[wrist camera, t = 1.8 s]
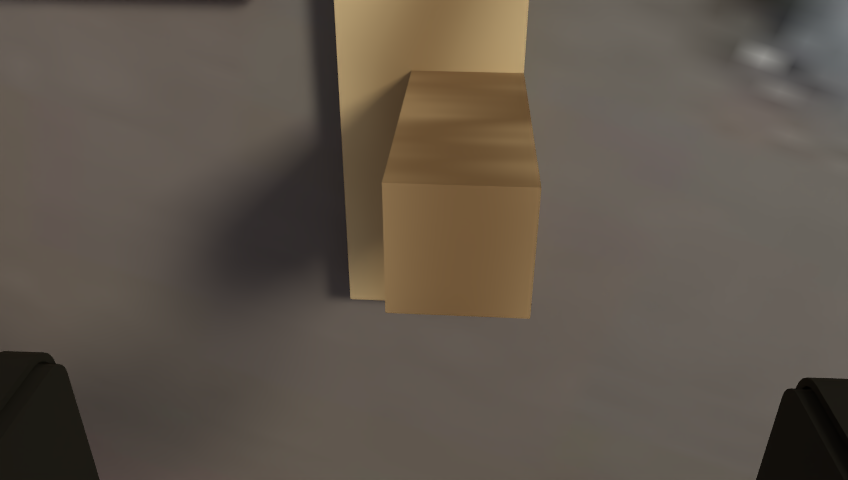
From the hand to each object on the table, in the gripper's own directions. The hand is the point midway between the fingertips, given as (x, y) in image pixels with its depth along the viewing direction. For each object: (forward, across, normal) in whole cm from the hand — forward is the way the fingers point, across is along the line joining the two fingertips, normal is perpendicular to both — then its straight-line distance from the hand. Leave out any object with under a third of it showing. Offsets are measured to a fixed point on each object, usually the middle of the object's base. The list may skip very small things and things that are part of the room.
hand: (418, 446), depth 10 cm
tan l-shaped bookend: (+14, -1, 0) cm, 14 cm away
